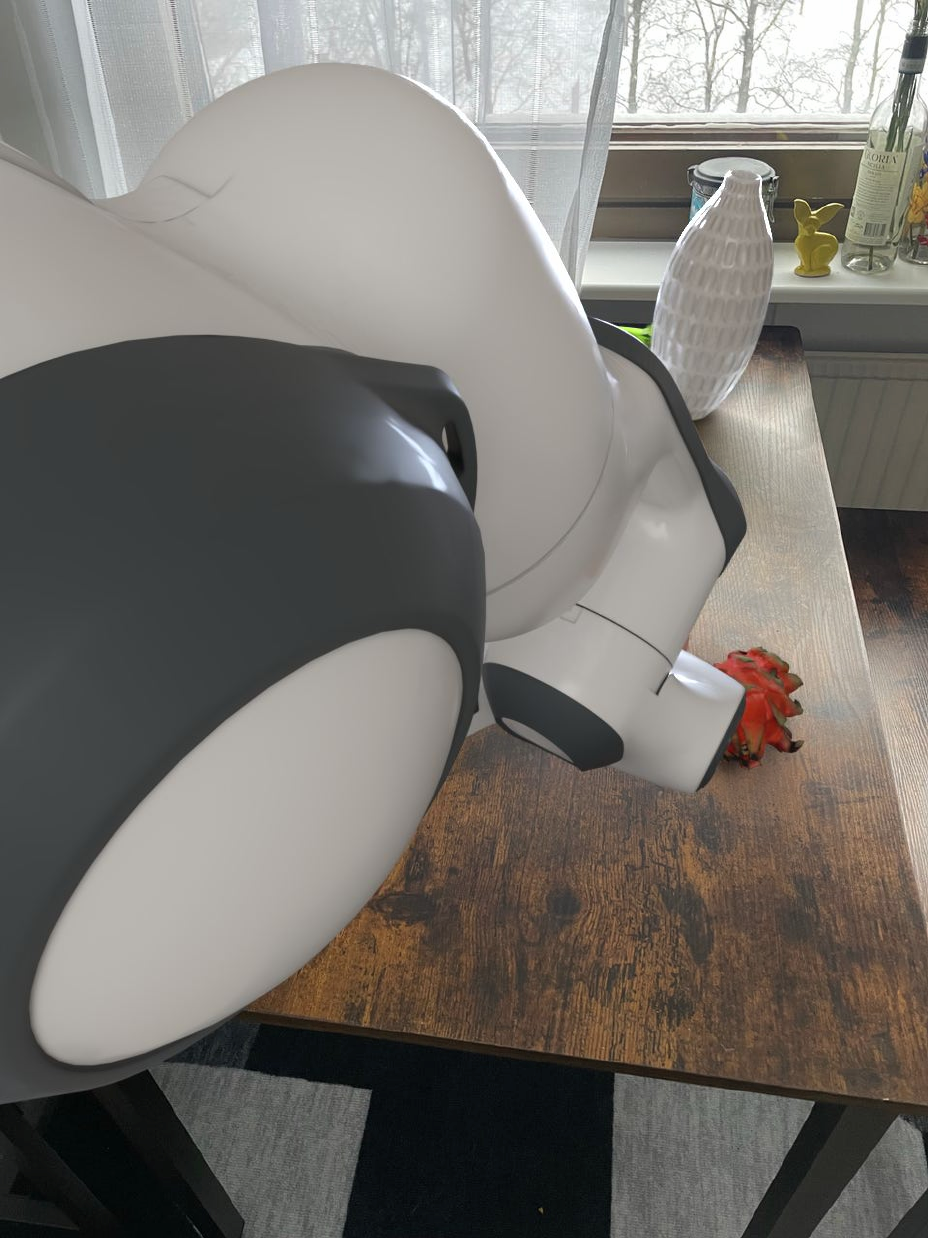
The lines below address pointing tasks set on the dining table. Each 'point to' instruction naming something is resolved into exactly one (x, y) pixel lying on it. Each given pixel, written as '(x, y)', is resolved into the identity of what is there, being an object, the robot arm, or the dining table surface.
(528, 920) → the dining table surface
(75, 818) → the robot arm
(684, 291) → the vase
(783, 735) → the dragon fruit
